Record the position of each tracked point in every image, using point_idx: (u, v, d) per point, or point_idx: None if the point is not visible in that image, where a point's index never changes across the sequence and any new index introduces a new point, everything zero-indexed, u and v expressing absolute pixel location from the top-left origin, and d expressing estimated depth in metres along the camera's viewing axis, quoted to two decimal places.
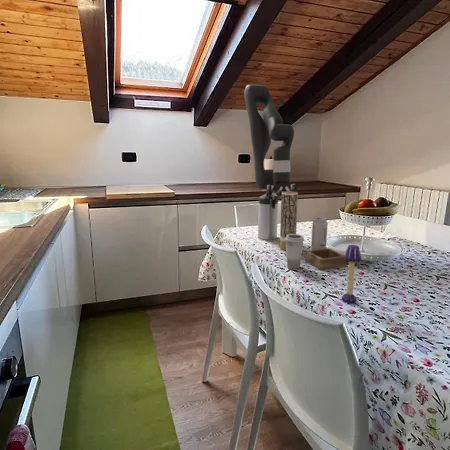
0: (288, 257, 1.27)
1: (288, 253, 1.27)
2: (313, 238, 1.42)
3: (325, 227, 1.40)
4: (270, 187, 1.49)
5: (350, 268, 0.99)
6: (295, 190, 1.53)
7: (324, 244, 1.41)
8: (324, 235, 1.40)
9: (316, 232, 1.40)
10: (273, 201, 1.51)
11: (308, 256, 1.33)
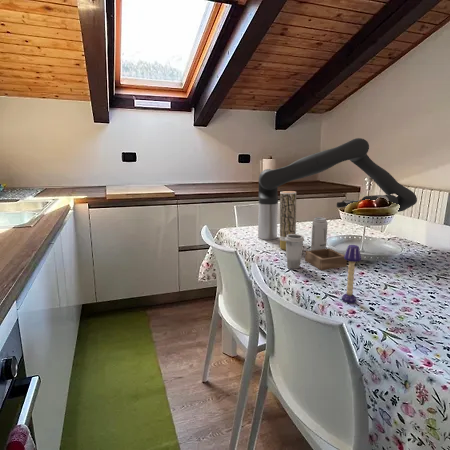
0: (288, 257, 1.27)
1: (288, 253, 1.27)
2: (313, 238, 1.42)
3: (325, 227, 1.40)
4: None
5: (350, 268, 0.99)
6: None
7: (324, 244, 1.41)
8: (324, 235, 1.40)
9: (316, 232, 1.40)
10: None
11: (308, 256, 1.33)
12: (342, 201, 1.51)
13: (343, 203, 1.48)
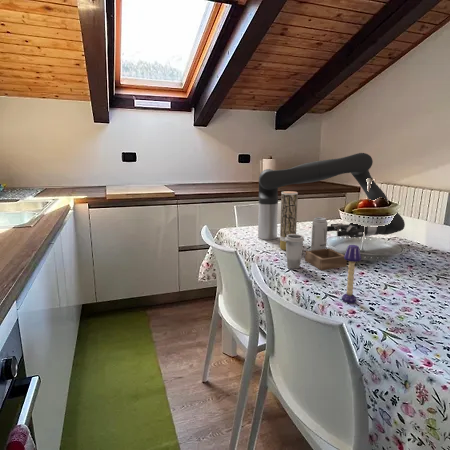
0: (288, 257, 1.27)
1: (288, 253, 1.27)
2: (313, 238, 1.42)
3: (325, 227, 1.40)
4: None
5: (350, 268, 0.99)
6: (336, 229, 1.53)
7: (324, 244, 1.41)
8: (324, 235, 1.40)
9: (316, 232, 1.40)
10: None
11: (308, 256, 1.33)
12: None
13: (331, 227, 1.49)
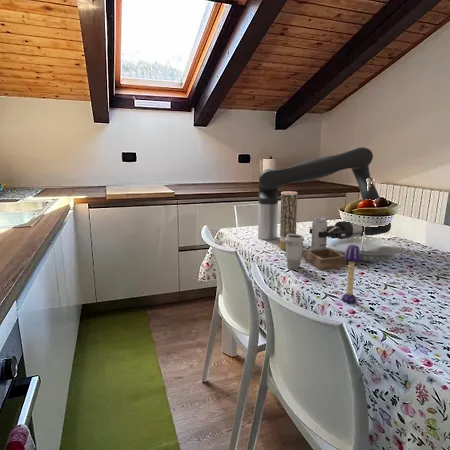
0: (288, 257, 1.27)
1: (288, 253, 1.27)
2: (313, 238, 1.42)
3: (325, 227, 1.40)
4: None
5: (350, 268, 0.99)
6: None
7: (324, 244, 1.41)
8: None
9: (316, 232, 1.40)
10: (326, 236, 1.40)
11: (308, 256, 1.33)
12: None
13: None
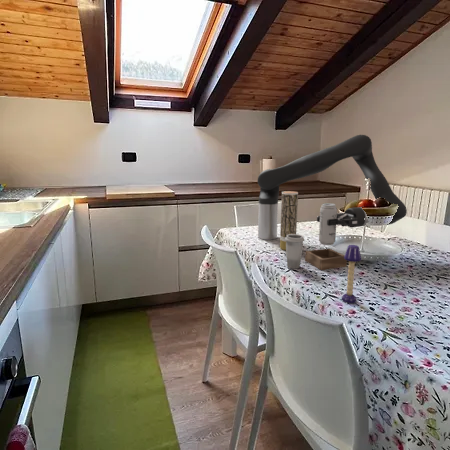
0: (288, 257, 1.27)
1: (288, 253, 1.27)
2: (321, 226, 1.28)
3: (334, 214, 1.25)
4: None
5: (350, 268, 0.99)
6: None
7: (333, 233, 1.27)
8: None
9: (324, 219, 1.26)
10: None
11: (308, 256, 1.33)
12: None
13: None
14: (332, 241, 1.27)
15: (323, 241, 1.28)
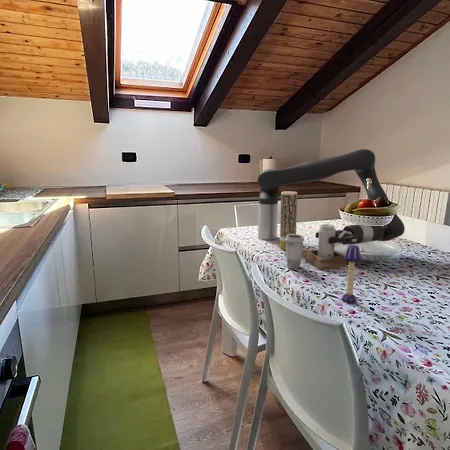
0: (288, 257, 1.27)
1: (288, 253, 1.27)
2: (320, 247, 1.30)
3: (333, 235, 1.27)
4: None
5: (350, 268, 0.99)
6: None
7: (332, 254, 1.29)
8: (332, 244, 1.28)
9: (323, 240, 1.28)
10: None
11: (308, 256, 1.33)
12: None
13: None
14: None
15: None
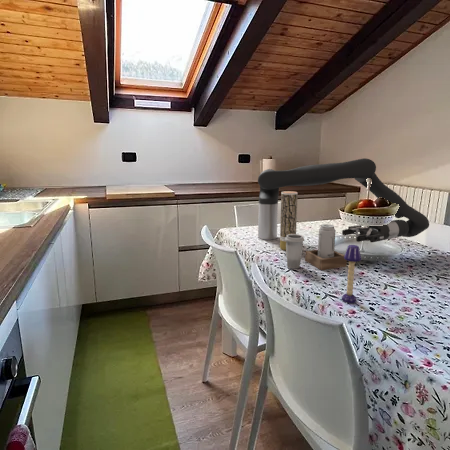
0: (288, 257, 1.27)
1: (288, 253, 1.27)
2: (320, 247, 1.30)
3: (333, 235, 1.27)
4: None
5: (350, 268, 0.99)
6: None
7: (332, 254, 1.29)
8: (332, 244, 1.28)
9: (323, 240, 1.28)
10: (364, 240, 1.31)
11: (308, 256, 1.33)
12: (348, 227, 1.41)
13: (349, 230, 1.38)
14: None
15: None
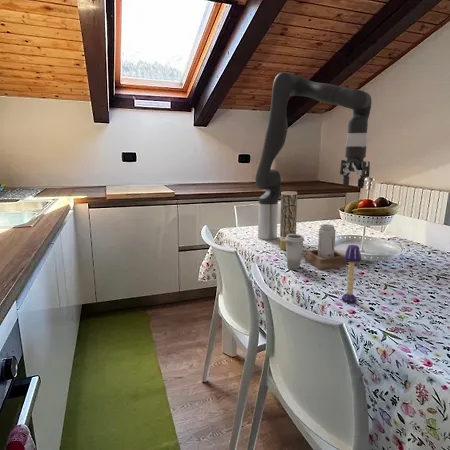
0: (288, 257, 1.27)
1: (288, 253, 1.27)
2: (320, 247, 1.30)
3: (333, 235, 1.27)
4: None
5: (350, 268, 0.99)
6: None
7: (332, 254, 1.29)
8: (332, 244, 1.28)
9: (323, 240, 1.28)
10: None
11: (308, 256, 1.33)
12: None
13: (345, 178, 1.40)
14: None
15: None
